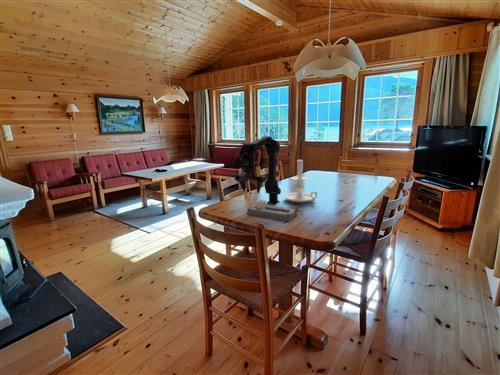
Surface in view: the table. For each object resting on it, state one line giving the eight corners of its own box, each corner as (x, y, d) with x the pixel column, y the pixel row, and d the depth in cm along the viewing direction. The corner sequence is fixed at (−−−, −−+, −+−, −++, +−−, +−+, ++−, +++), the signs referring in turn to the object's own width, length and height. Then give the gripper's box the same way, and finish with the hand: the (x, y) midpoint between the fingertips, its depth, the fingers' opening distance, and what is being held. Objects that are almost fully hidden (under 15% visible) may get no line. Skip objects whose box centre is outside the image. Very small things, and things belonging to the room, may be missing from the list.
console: (257, 208, 166) (257, 203, 165) (297, 214, 153) (297, 208, 152) (247, 214, 156) (247, 208, 156) (288, 221, 143) (288, 215, 142)
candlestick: (306, 209, 162) (307, 163, 156) (277, 200, 181) (277, 159, 175) (327, 202, 175) (328, 159, 168) (298, 195, 194) (298, 156, 187)
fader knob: (259, 207, 160) (259, 199, 159) (265, 208, 158) (265, 200, 157) (256, 209, 157) (256, 201, 156) (262, 210, 155) (262, 202, 154)
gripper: (228, 167, 150) (230, 194, 154) (257, 169, 141) (258, 197, 145) (238, 164, 160) (240, 189, 163) (266, 165, 150) (267, 192, 154)
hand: (251, 192), depth 156 cm, fingers open, 9 cm apart
